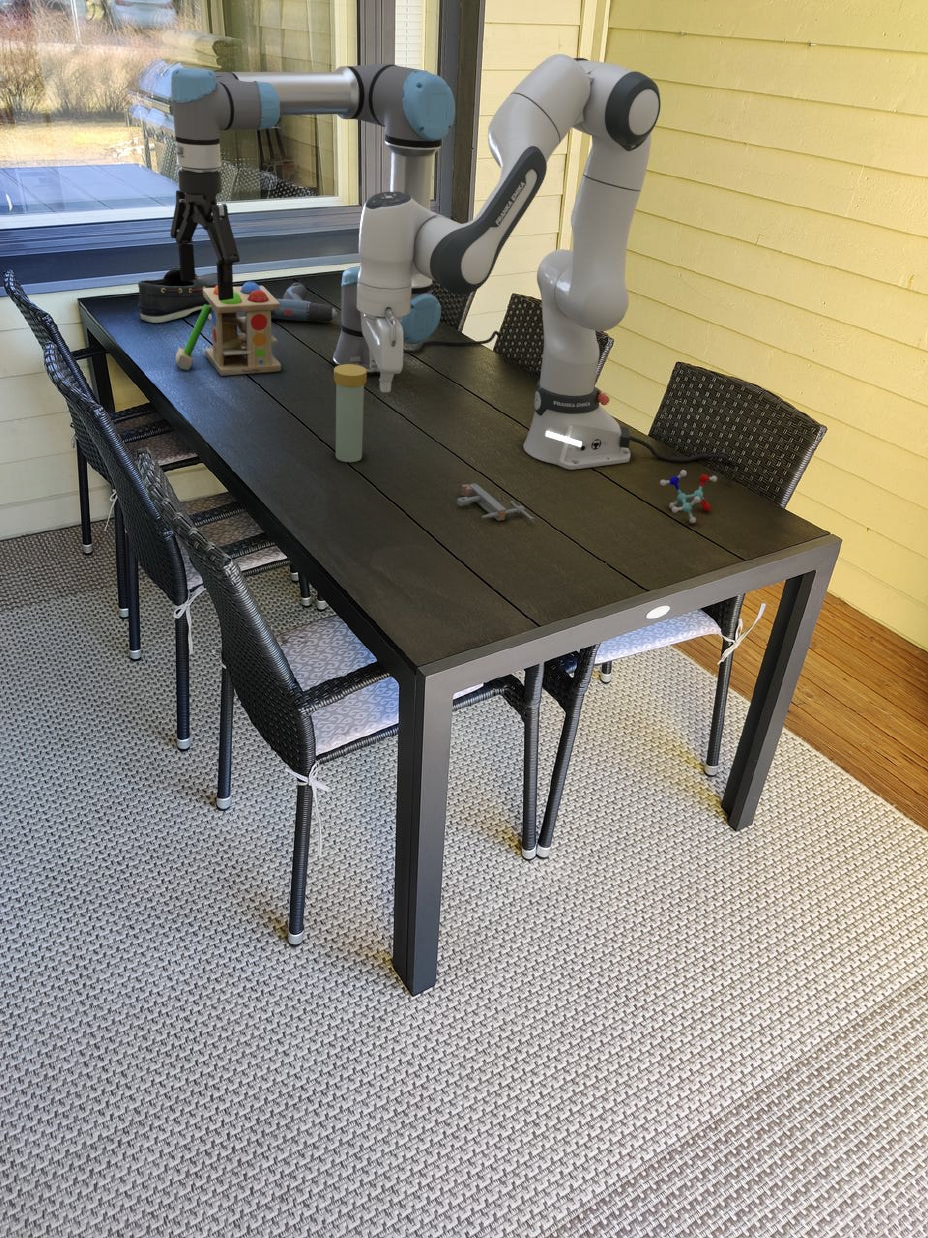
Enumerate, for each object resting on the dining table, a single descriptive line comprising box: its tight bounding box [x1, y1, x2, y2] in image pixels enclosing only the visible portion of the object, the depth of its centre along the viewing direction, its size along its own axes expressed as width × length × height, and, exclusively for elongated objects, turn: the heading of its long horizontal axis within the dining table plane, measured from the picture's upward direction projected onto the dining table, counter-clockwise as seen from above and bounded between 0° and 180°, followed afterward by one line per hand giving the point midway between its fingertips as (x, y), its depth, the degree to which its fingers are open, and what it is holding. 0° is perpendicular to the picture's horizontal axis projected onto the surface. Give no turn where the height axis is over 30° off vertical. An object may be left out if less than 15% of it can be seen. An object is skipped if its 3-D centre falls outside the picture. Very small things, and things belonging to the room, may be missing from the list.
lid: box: [333, 364, 368, 387], centre depth 186 cm, size 6×6×2 cm
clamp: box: [456, 483, 535, 523], centre depth 180 cm, size 15×2×10 cm
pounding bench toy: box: [174, 281, 282, 377], centre depth 225 cm, size 23×14×18 cm, turn 116°
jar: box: [335, 383, 365, 463], centre depth 190 cm, size 5×5×17 cm
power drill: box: [271, 282, 338, 322], centre depth 265 cm, size 5×19×20 cm
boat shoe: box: [137, 266, 218, 324], centre depth 260 cm, size 13×33×10 cm, turn 147°
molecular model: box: [659, 469, 718, 524], centre depth 185 cm, size 12×10×10 cm
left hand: (206, 289), depth 186 cm, fingers open, 13 cm apart
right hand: (379, 380), depth 168 cm, fingers open, 8 cm apart
